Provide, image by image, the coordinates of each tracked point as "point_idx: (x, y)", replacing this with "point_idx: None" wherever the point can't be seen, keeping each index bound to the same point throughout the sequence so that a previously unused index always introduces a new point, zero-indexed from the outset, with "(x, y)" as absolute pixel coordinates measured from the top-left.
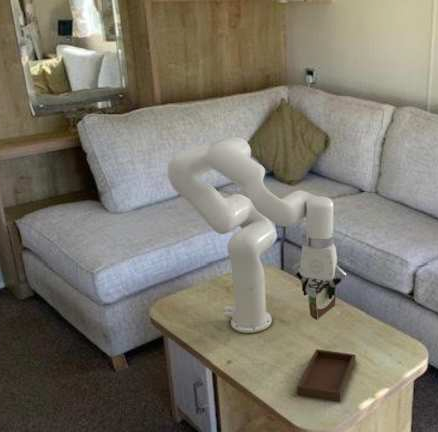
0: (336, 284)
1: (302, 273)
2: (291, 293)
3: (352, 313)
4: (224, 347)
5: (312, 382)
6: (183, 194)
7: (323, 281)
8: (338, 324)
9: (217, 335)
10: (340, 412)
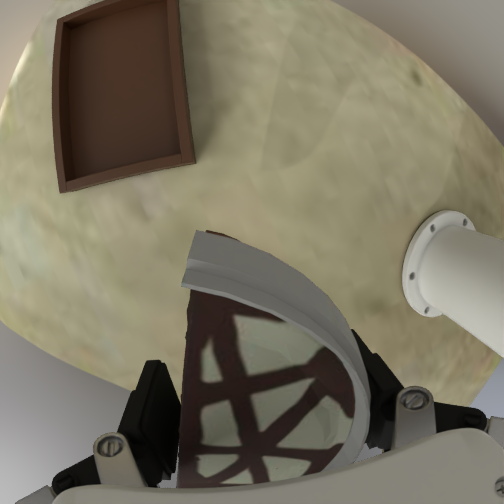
0: (91, 458)
1: (480, 451)
2: None
3: None
4: (452, 135)
5: (150, 37)
6: None
7: (240, 474)
8: None
9: (478, 181)
10: (63, 8)
